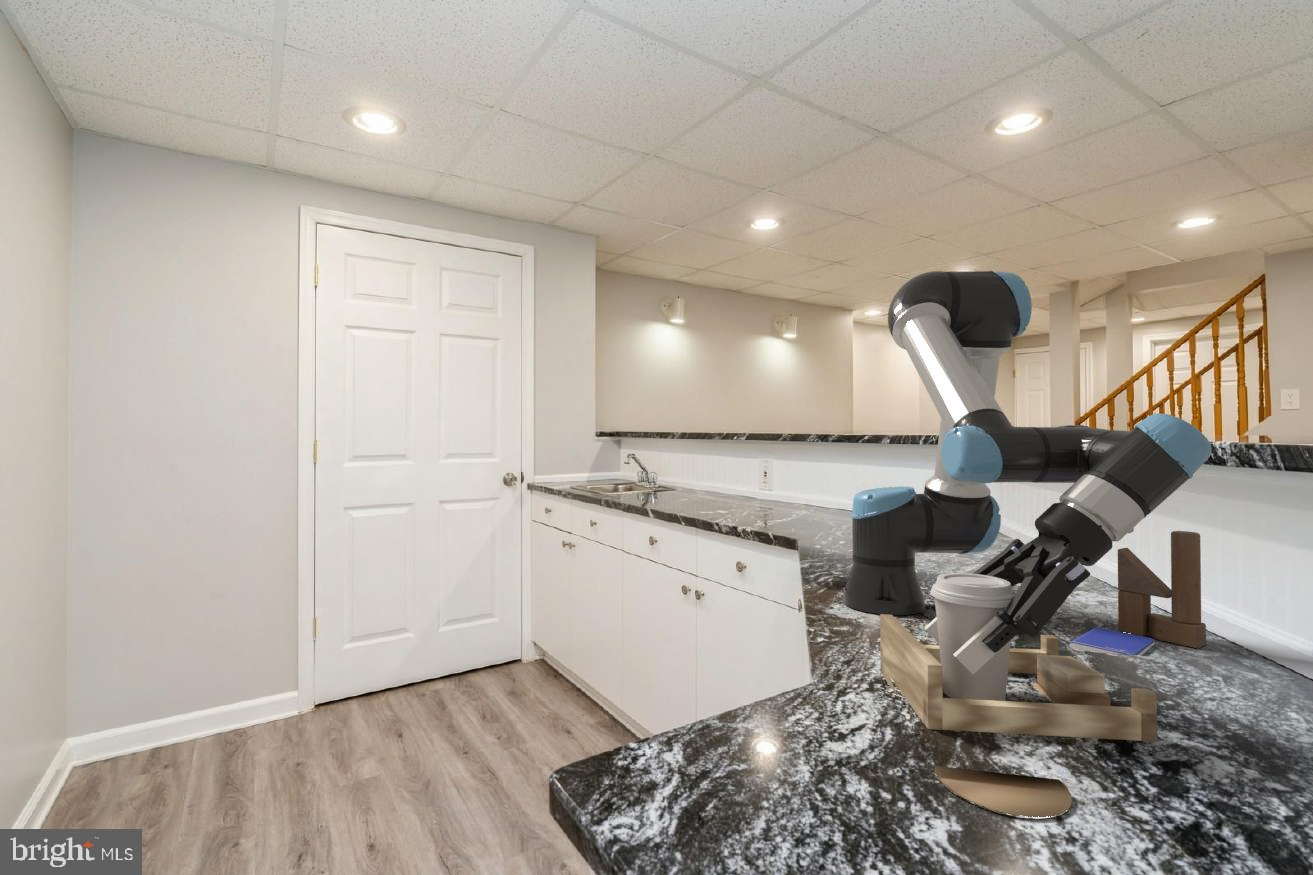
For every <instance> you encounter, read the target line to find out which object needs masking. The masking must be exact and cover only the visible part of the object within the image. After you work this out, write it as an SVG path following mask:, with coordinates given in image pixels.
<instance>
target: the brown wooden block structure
mask: <svg viewBox="0 0 1313 875" xmlns="http://www.w3.org/2000/svg"><path fill="white" fill-rule="evenodd" d="M1201 552H1202V551H1201V534H1200V533H1198V532H1195V531H1187V530H1185V531H1183V530H1173V531H1171V532H1170V573H1171V574H1170V575H1171V576H1170V578H1171V580H1170V583H1171V584H1170V586H1171V587H1169V586H1168V585H1167V584H1166V583H1165V582H1164V581H1163V580H1162V579H1161V578H1160V577H1158V576H1157V575H1156V574H1155V573H1154V572H1153V571H1152V570H1151V569H1150V568H1149V567H1148V566H1147V565H1146V563H1144V562H1143V561H1142V560H1141V559H1140V558H1139V557H1138V556H1137V555H1136V554H1135V553H1134V552H1133V551H1132V550H1131V549H1129V548H1128V547H1122V548H1117V590H1118V592H1117V603H1118V604H1117V606H1118V607H1117V608H1118V609H1117V610H1118V614H1117V620H1118V622H1117V624H1118V626H1117V628H1118V632H1126V633H1131V634H1134V635H1139V636H1144V637H1146V636H1149V637H1151V636H1152V637H1151V638H1152V639H1154V640H1156V639H1157V641H1161V642H1164V641H1167V642H1166V643H1169V642H1172V643H1171V644H1173V643H1175V645H1178V644H1179V645H1178V646H1182V645H1183V647H1187V646H1190V647H1189V648H1191V647H1193V648H1192V649H1196V648H1198V649H1200V648H1202V646H1203V647H1205V646H1207V625H1206V623H1205V622H1202V565H1201V562H1202V561H1201V556H1202V555H1201ZM1151 596H1152V597H1156V598H1157V597H1158V598H1163V599H1170V600H1171V616H1169V615H1165V614H1158V613H1153V612H1152V605H1151V604H1152V602H1151V601H1152V600H1151V599H1152V597H1151ZM1147 634H1148V635H1147ZM1145 635H1146V636H1145Z"/></svg>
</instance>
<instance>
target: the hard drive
mask: <svg viewBox="0 0 1313 875" xmlns="http://www.w3.org/2000/svg"><path fill="white" fill-rule="evenodd" d="M1154 644H1155V645H1156V639H1155V638H1153V637H1147V636H1139V635H1134V634H1128V633H1123V632H1120V631H1119V630H1118V631H1117V630H1114V629H1113V630H1112V629H1109V628H1108V629H1107V628H1102V627H1093V628H1092V629H1091V630H1088V631H1087V632H1085V633H1084V634H1082V635H1079V636H1078V637H1075V638H1074V639H1073V640H1071V641H1070V642H1069V648H1071V647H1072V649H1076V650H1079V651H1080V650H1081V651H1085V650H1087V651H1086V652H1089V651H1090V652H1091V653H1099V654H1101V653H1102V654H1112V655H1113V654H1114V655H1125V656H1126V655H1127V656H1140V657H1141V656H1143V655H1144V654H1145V653H1147V650H1148V649H1149V650H1150V649H1151V648H1152V647H1151V646H1153V645H1154ZM1155 645H1154V646H1155ZM1154 646H1153V647H1154ZM1150 647H1151V648H1150ZM1149 650H1148V651H1149Z"/></svg>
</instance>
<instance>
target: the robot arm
mask: <svg viewBox="0 0 1313 875" xmlns="http://www.w3.org/2000/svg"><path fill="white" fill-rule="evenodd" d="M1032 306H1033V304H1032V297H1031V292H1030V290H1029V287H1028V286H1027V285H1026V283H1025V281H1024V280H1023V278H1022V277H1020V276H1019V275H1018V274H1016V273H1013V272H1008V271H1007V272H1006V271H996V270H988V271H987V270H985V271H984V270H983V271H982V270H981V271H980V270H978V271H977V270H975V271H971V270H970V271H966V270H965V271H962V270H961V271H942V270H937V271H936V270H934V271H928V272H924V273H921V274H918V275H916V276H914V277H912V278H911V279H909V280H908V281H906V282H905V283H904V284H903V285H902V286H901V287H900V288H899V289H898V291H897V292H896V293H895V295H894V296H893V298H892V300H891V301H890V304H889V309H888V313H887V325H888V328H889V332H890V336H891V337H892V339H893V341H894V342H895V344H896V345H897V346H898V347H899V348H901V349H902V350H905V351H906V352H907V354H908V356H909V358H910V360H911V362H912V364H913V366H914V368H915V370H916V371H917V374H918V375H919V378H920V380H921V381H922V383H923V385H924V387H925V389H926V391H927V394H928V395H929V397H930V399H931V401H932V403H933V405H934V407H935V408H936V411H937V412H938V414H939V417H940V425H939V432H938V442H937V447H936V448H937V450H936V458H935V466H934V474H933V476H931V477H930V478H928V479H927V480H926V481H925V483H924V490H923V493H917V492H916V491H915V488H914V487H912V486H903V485H902V486H886V487H877V488H876V487H875V488H870V489H866V490H865V489H864V490H862V491H859V492H857V493H856V494H855V495H854V497H853V500H852V512H851V514H850V515H851V518H852V519H851V520H852V565H851V569H850V571H849V573H848V578H847V582H846V586H845V587H844V589H843V604H844V605H845V606H847V607H849V608H851V609H854V610H857V611H860V612H866V613H869V614H875V615H876V614H878V615H880V614H887V615H892V616H909V615H918V614H921V613H923V612H924V611H926V602H925V601H926V599H925V595H924V593H923V591H922V587H921V585H920V581H919V577H918V575H917V572H916V553H917V554H919V553H920V554H921V553H922V554H923V553H927V554H930V553H931V554H960V555H966V554H969V553H970V554H971V553H972V554H973V553H981V552H985V551H986V550H988V549H989V548H990V547H992V545H993V544H994V543H996V542H995V541H996V540H997V538H998V536H999V533H1000V529H1001V523H1002V516H1001V514H1000V510H1001V509H1000V506H999V504H998V502H997V500H996V499H995V498H994V497H993V496H991V491H992V490H991V489H990V488H989V487H988V485H987V484H991V483H1037V484H1038V483H1045V484H1065V483H1066V484H1072V485H1071V486H1069V487H1068V488H1067V489H1066V490H1065V492H1064V493H1062V494H1061V495H1060V496H1059V502H1054V503H1052V504H1051V505H1050V506H1049V507H1048V508H1047V509H1046V510H1044V512H1042V513H1041V514H1040V515H1039V516H1038V517H1037V518H1036V519H1035V521H1034V526H1035V529H1036V530H1037V531H1038V532H1037V533H1038V536H1036V537H1035V538H1033V539H1032V540H1030V541H1028V542H1027V543H1024V542H1023V541H1021V539H1020V538H1015V539H1014V540H1012V541H1011V543H1009V544H1008V545H1007V546H1006V547H1005V548H1004V550H1002V551H1001V552H999V553H998V554H997V555H996V556H994V557H993V558H991V559H990V560H989V561H987V562H986V563H985V564H983V565H982V566H980V568H978V569H977V570H975V571H974V572H972V574H980V575H987V576H992V577H997V578H1001V579H1004V580H1007V581H1008V582H1010V583H1011V586H1012V588H1013V587H1015V586H1016V585H1018V584H1020V585H1019V587H1018V588H1017V590H1016V592H1015V593H1016V594H1015V595H1014V597H1013V599H1012V600H1011V602H1010V604H1009V605H1008V607H1007V609H1006V610H1005V611H998V612H996V615H997V616H998V617H999V618H1001V619H1002V620H1003V622H1002V621H1001V620H1000V619H999V618H998V617H996V616H994V617H993V618H992V619H991V620H990V621H989V622H988V623H987V624H986V625H985V626H984V627H982V628H981V629H980V630H979V631H978V632H977V633H976V634H975V635H974V636H973V637H972V638H970V639H969V640H968V641H967V642H966V643H965V644H964V645H963V646H962V647H961V648H960V649H958V650H957V651H956V652H955V653H954V654H953V655H954V656H955V657H956V658H957V659H958V660H959V661H960V662H961V663H962V664H963V665H964V666H965V667H966V668H967V669H968V670H969V671H970V672H971V673H972V674H974V673H975V672H976V671H978V670H979V669H980V668H981V667H982V666H983V665H984V664H985V663H986V662H987V661H989V660H990V659H991V658H992V657H993V656H994V655H995V654H996V653H997V652H998V651H999V650H1001V649H1002V648H1003V647H1004V646H1005V645H1006V644H1007V643H1008V642H1009V641H1010V640H1011V641H1012V640H1013V639H1014V638H1015V636H1018V637H1021V636H1023V635H1025V634H1027V635H1028V636H1029V637H1030V638H1034V637H1036V636H1038V635H1039V634H1040V632H1041V631H1042V630H1043V629H1044V627H1045V626H1046V625H1047V623H1048V622H1049V621H1050V620H1051V618H1053V616H1054V615H1055V613H1057V611H1058V610H1059V609H1060V607H1061V606H1062V605H1063V603H1065V601H1066V600H1067V599H1068V598H1069V596H1070V595H1071V594H1072V593H1073V591H1074V590H1075V589H1076V588H1077V587H1078V586H1080V584H1082V583H1083V582H1084V581H1086V580H1087V579H1088V578H1089V577H1090V575H1091V572H1090V571H1089V570H1088V569H1087V568H1086V567H1092V566H1094V565H1096V564H1097V562H1098V561H1100V560H1101V559H1102V558H1103V557H1104V556H1105V555H1106V554H1107V553H1108V552H1109V551H1111V550H1112V549H1113V542H1119V541H1121V540H1122V539H1123V538H1124V537H1125V536H1126V535H1127V534H1131V533H1134V531H1135V527H1136V526H1137V525H1138V524H1139V523H1140V522H1141V521H1142V520H1144V519H1145V518H1146V517H1147V516H1148V515H1150V514H1151V513H1152V512H1154V510H1155V509H1156V508H1157V507H1159V506H1160V505H1161V504H1162V503H1163V502H1165V501H1166V500H1167V499H1168V498H1169V497H1170V496H1171V495H1172V494H1173V493H1175V491H1177V490H1178V489H1179V488H1180V487H1181V486H1182V485H1184V484H1185V483H1186V482H1187V481H1188V480H1189V479H1192V478H1193V477H1194V474H1195V473H1196V472H1197V471H1198V470H1199V469H1200V467H1201V466H1203V464H1205V462H1206V461H1207V460H1209V458H1210V456H1211V455H1212V450H1213V448H1212V444H1211V443H1210V441H1209V439H1208V438H1207V437H1206V436H1205V435H1204V433H1202V431H1201V430H1199V429H1198V428H1197V427H1195V425H1193V424H1191V423H1190V422H1188V421H1186V420H1185V419H1182V418H1180V417H1178V416H1176V415H1175V416H1174V415H1172V414H1168V413H1154V414H1151V415H1149V416H1147V417H1146V418H1144V419H1143V420H1142V421H1140V422H1138V423H1136V424H1134V428H1133V429H1132V430H1130V431H1129V430H1116V429H1113V430H1112V429H1105V428H1098V427H1090V426H1089V425H1088V426H1087V425H1083V424H1079V425H1078V424H1077V425H1073V424H1072V425H1071V424H1069V425H1061V426H1060V425H1059V426H1056V427H1055V426H1050V427H1049V426H1042V427H1041V426H1039V427H1037V426H1014V425H1013V424H1012V423H1011V421H1010V420H1009V419H1008V417H1007V416H1006V414H1005V413H1004V411H1003V410H1002V408H1001V406H1000V405H999V403H998V402H997V400H996V398H995V395H996V390H997V388H996V387H997V381H998V375H999V374H998V373H999V367H1000V360H1001V357H1002V356H1003V355H1004V354H1005V353H1006V352H1008V351H1009V350H1011V348H1012V343H1013V342H1012V341H1013V339H1014V338H1017V337H1018V336H1019V337H1020V336H1021V335H1022V334H1024V332H1025V331H1026V329H1027V327H1028V326H1029V324H1030V322H1031V318H1032V308H1033V307H1032ZM924 630H925V631H927V632H928V634H930V636H932V638H934V640H935V641H937V643H939V637H938V627H937V616H935V617H934V618H933V619H932V620H931V621H930V622H929V623H927V625H926V626H925V627H924Z"/></svg>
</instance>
